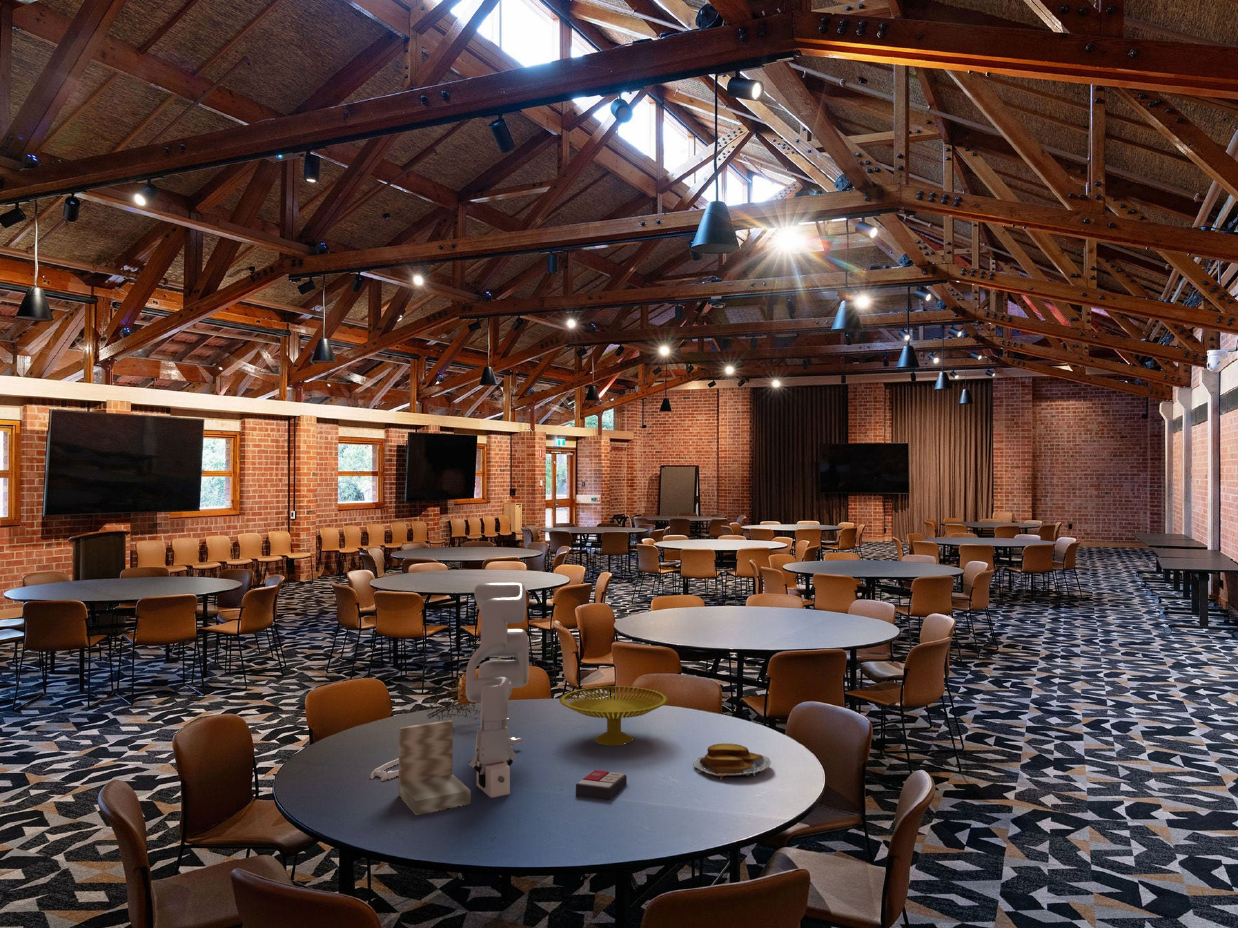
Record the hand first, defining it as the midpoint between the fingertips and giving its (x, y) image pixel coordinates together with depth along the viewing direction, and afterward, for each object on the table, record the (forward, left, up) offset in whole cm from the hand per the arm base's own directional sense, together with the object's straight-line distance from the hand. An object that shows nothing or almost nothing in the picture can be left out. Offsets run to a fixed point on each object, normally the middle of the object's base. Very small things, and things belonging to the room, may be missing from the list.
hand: (493, 783), depth 245 cm
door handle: (+18, -34, -2) cm, 38 cm away
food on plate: (-74, +23, -2) cm, 77 cm away
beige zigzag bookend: (+18, -1, -2) cm, 18 cm away
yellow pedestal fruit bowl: (-57, -25, -2) cm, 62 cm away
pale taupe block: (0, 0, -2) cm, 2 cm away
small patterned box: (-28, +17, -2) cm, 33 cm away
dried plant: (-23, -72, -2) cm, 75 cm away
